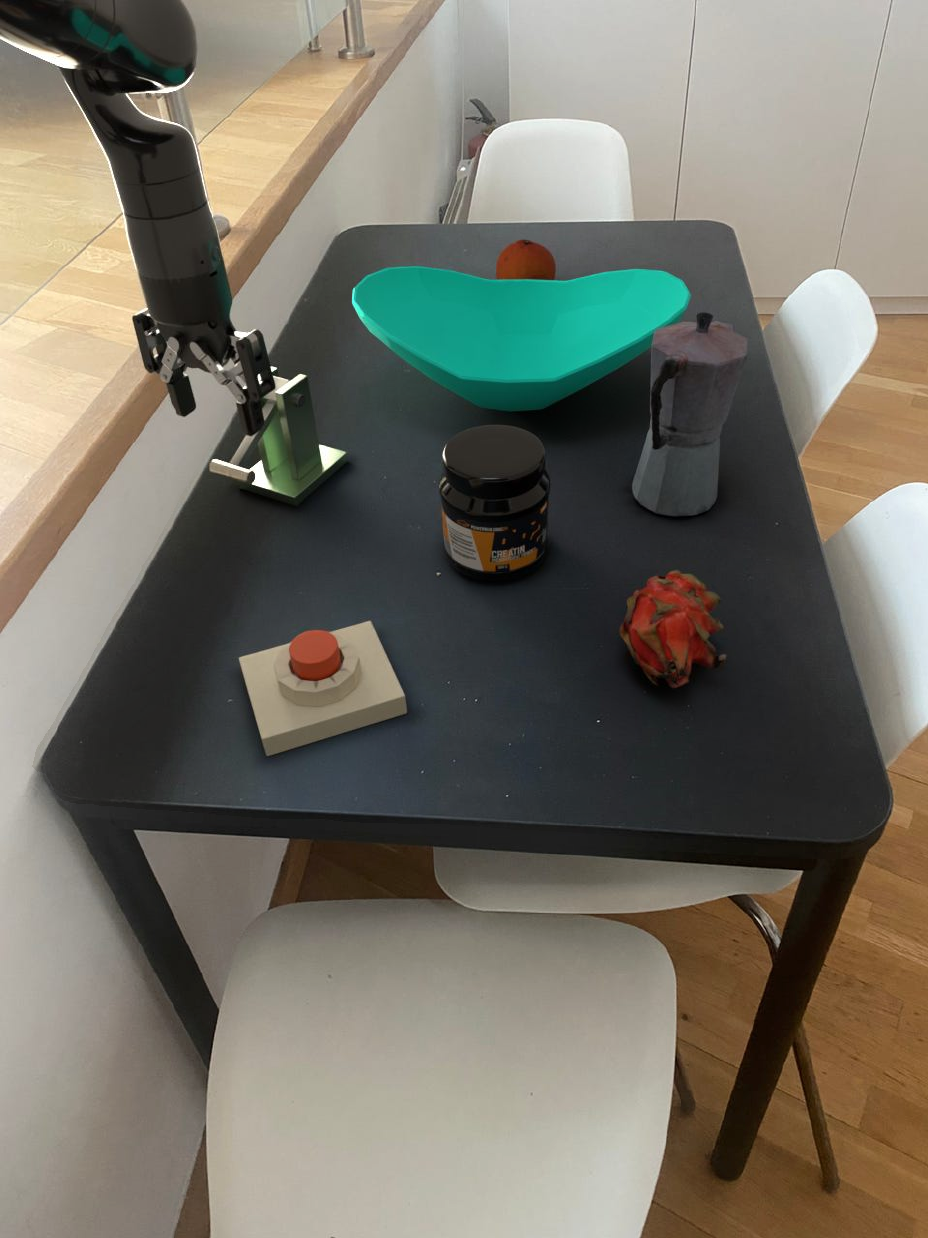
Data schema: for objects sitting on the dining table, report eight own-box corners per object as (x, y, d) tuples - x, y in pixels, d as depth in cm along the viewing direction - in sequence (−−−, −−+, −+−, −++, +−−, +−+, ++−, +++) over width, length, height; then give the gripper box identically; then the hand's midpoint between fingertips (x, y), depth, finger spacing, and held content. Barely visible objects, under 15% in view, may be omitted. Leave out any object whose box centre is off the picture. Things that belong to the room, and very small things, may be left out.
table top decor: (673, 346, 124) (686, 246, 115) (682, 458, 104) (698, 348, 95) (385, 339, 129) (376, 243, 120) (340, 445, 109) (324, 339, 100)
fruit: (563, 301, 136) (565, 246, 130) (505, 309, 134) (504, 254, 129) (545, 278, 142) (547, 225, 137) (490, 286, 141) (489, 232, 135)
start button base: (266, 757, 74) (257, 724, 71) (243, 675, 81) (233, 642, 78) (407, 713, 77) (403, 680, 74) (373, 637, 84) (368, 605, 81)
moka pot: (742, 474, 101) (777, 297, 87) (688, 550, 91) (717, 365, 78) (661, 452, 105) (682, 279, 91) (601, 522, 95) (614, 341, 82)
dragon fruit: (672, 620, 86) (671, 729, 79) (601, 580, 83) (593, 688, 76) (740, 575, 80) (745, 688, 73) (666, 530, 77) (664, 642, 70)
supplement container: (447, 591, 88) (439, 487, 80) (440, 525, 96) (433, 425, 88) (555, 582, 89) (559, 477, 81) (540, 517, 97) (542, 416, 88)
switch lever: (253, 489, 95) (242, 476, 93) (215, 477, 97) (204, 465, 95) (308, 396, 98) (299, 382, 96) (271, 387, 100) (262, 372, 98)
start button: (299, 686, 75) (295, 669, 73) (288, 655, 78) (283, 637, 76) (346, 673, 76) (343, 655, 74) (334, 641, 78) (330, 624, 77)
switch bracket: (296, 506, 100) (277, 409, 92) (238, 488, 103) (215, 393, 95) (348, 460, 106) (334, 366, 98) (292, 444, 109) (275, 352, 101)
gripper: (88, 261, 80) (140, 424, 91) (213, 288, 75) (252, 457, 86) (148, 232, 85) (191, 390, 96) (270, 255, 80) (300, 420, 91)
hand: (220, 422), depth 91 cm, fingers open, 8 cm apart
